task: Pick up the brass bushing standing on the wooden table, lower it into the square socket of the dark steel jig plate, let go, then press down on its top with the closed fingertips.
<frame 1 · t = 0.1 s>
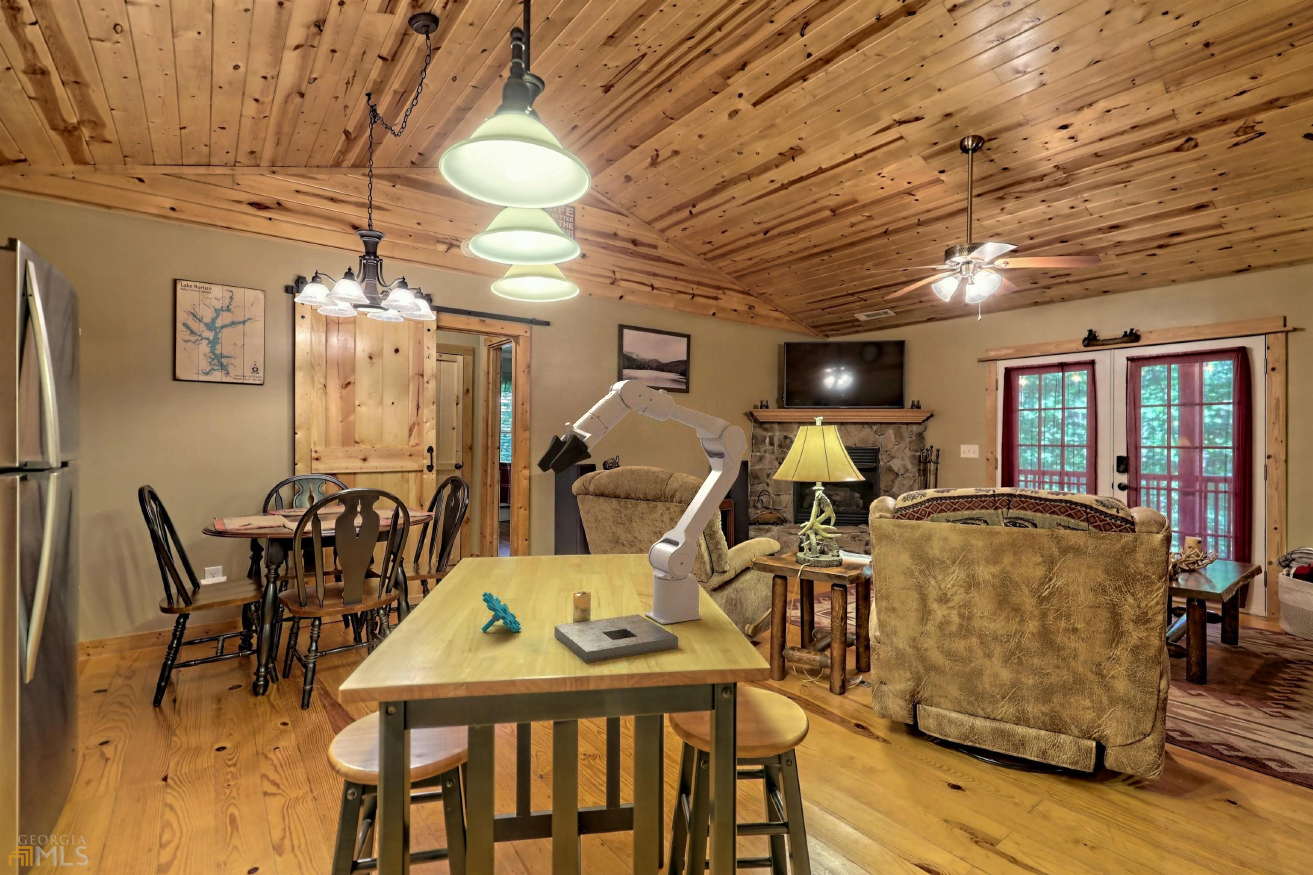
hand: (546, 469, 121), 32 cm above the table, tool tilted 50°, fingers open, 7 cm apart
jig plate: (614, 641, 118), on the table
gear: (501, 631, 124), on the table
bushing: (581, 622, 130), on the table
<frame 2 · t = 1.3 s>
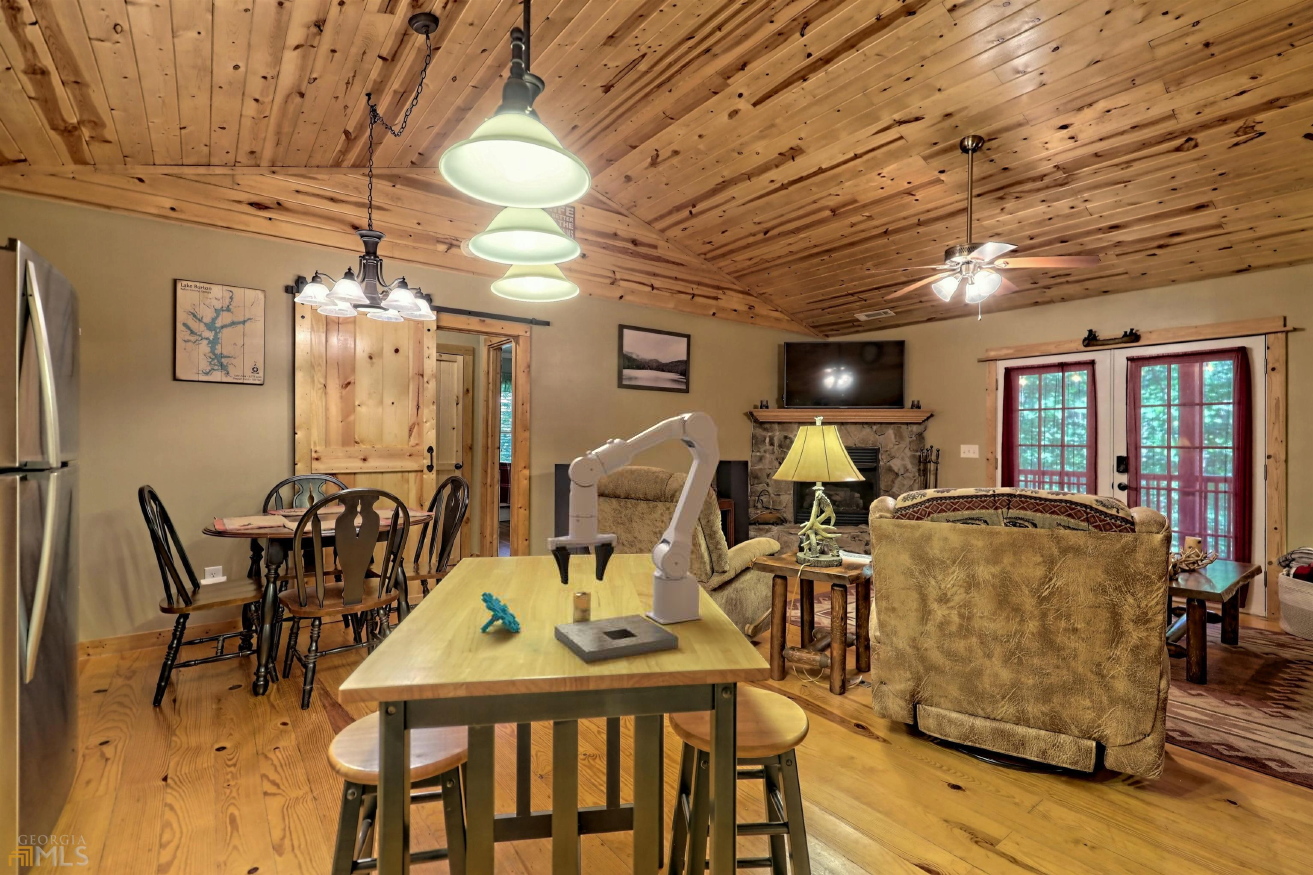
hand: (582, 581, 130), 8 cm above the table, tool pointing down, fingers open, 7 cm apart
nothing on the table moved.
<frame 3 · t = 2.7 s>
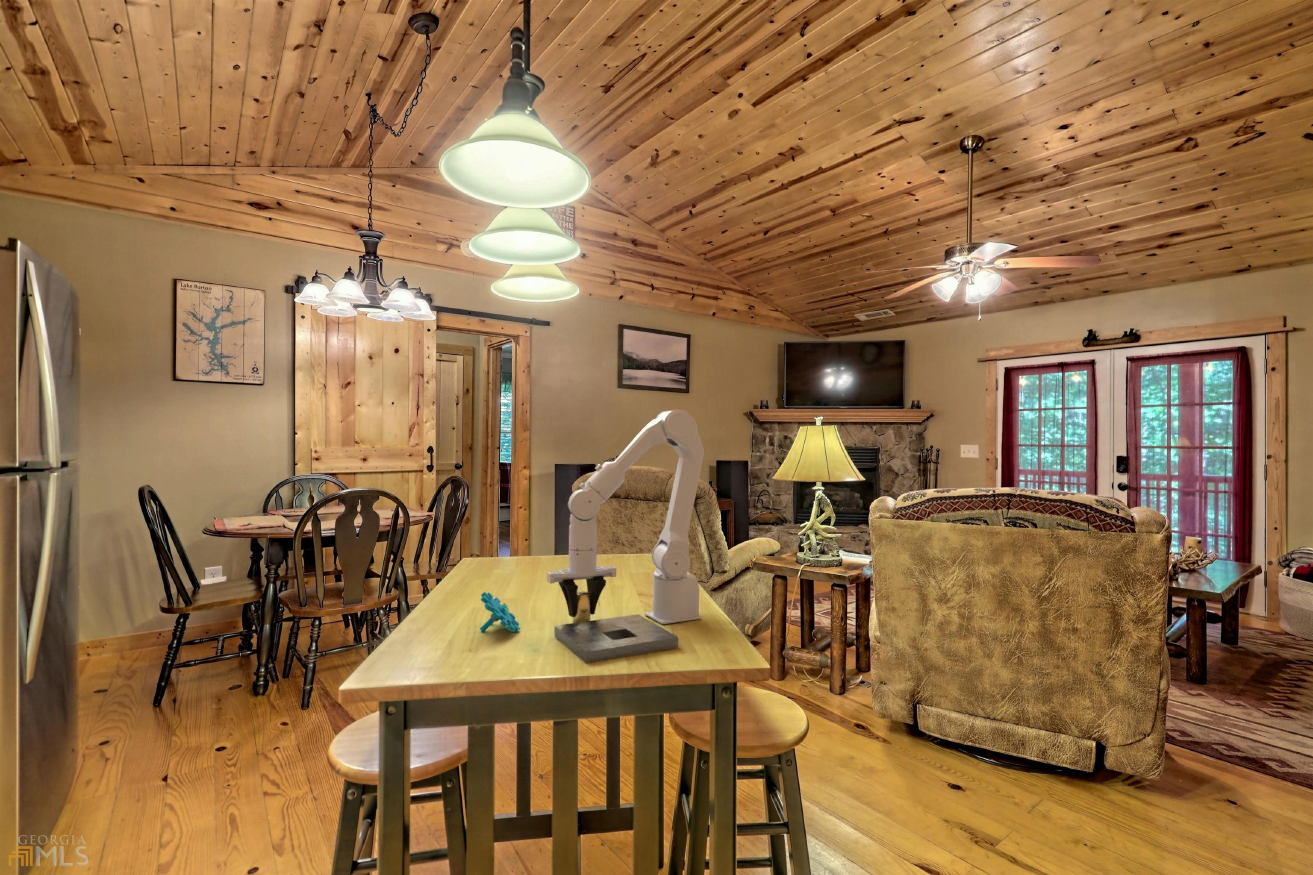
hand: (581, 614, 130), 2 cm above the table, tool pointing down, fingers closed on bushing, 4 cm apart
bushing: (581, 622, 130), on the table, touching gripper
everything else where it was.
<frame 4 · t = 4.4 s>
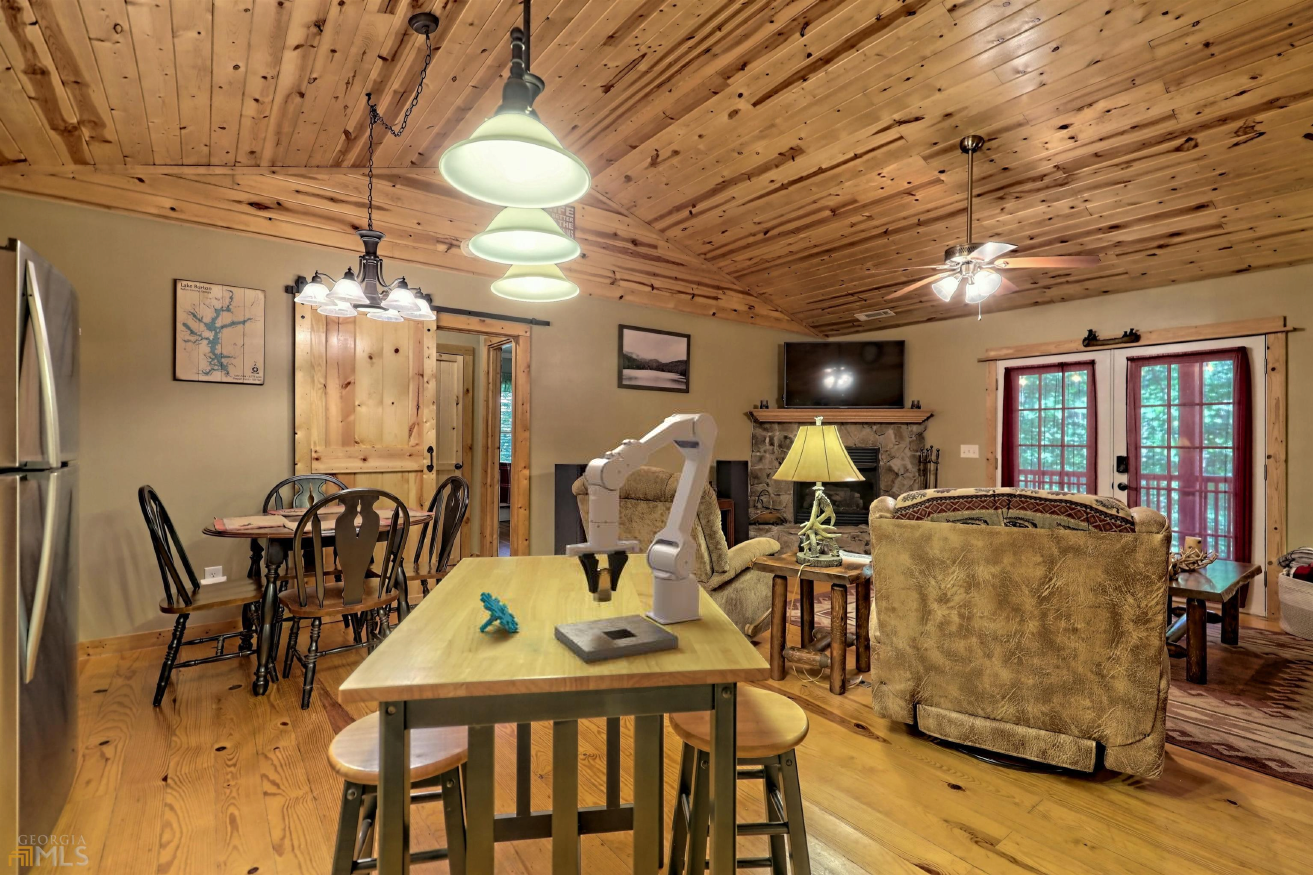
hand: (602, 591, 122), 8 cm above the table, tool pointing down, fingers closed on bushing, 4 cm apart
bushing: (602, 599, 122), point 7 cm above the table, touching gripper
everything else where it was.
when the fingers open (3 cm above the table, at t = 6.3 s): bushing stays where it is, resting in jig plate.
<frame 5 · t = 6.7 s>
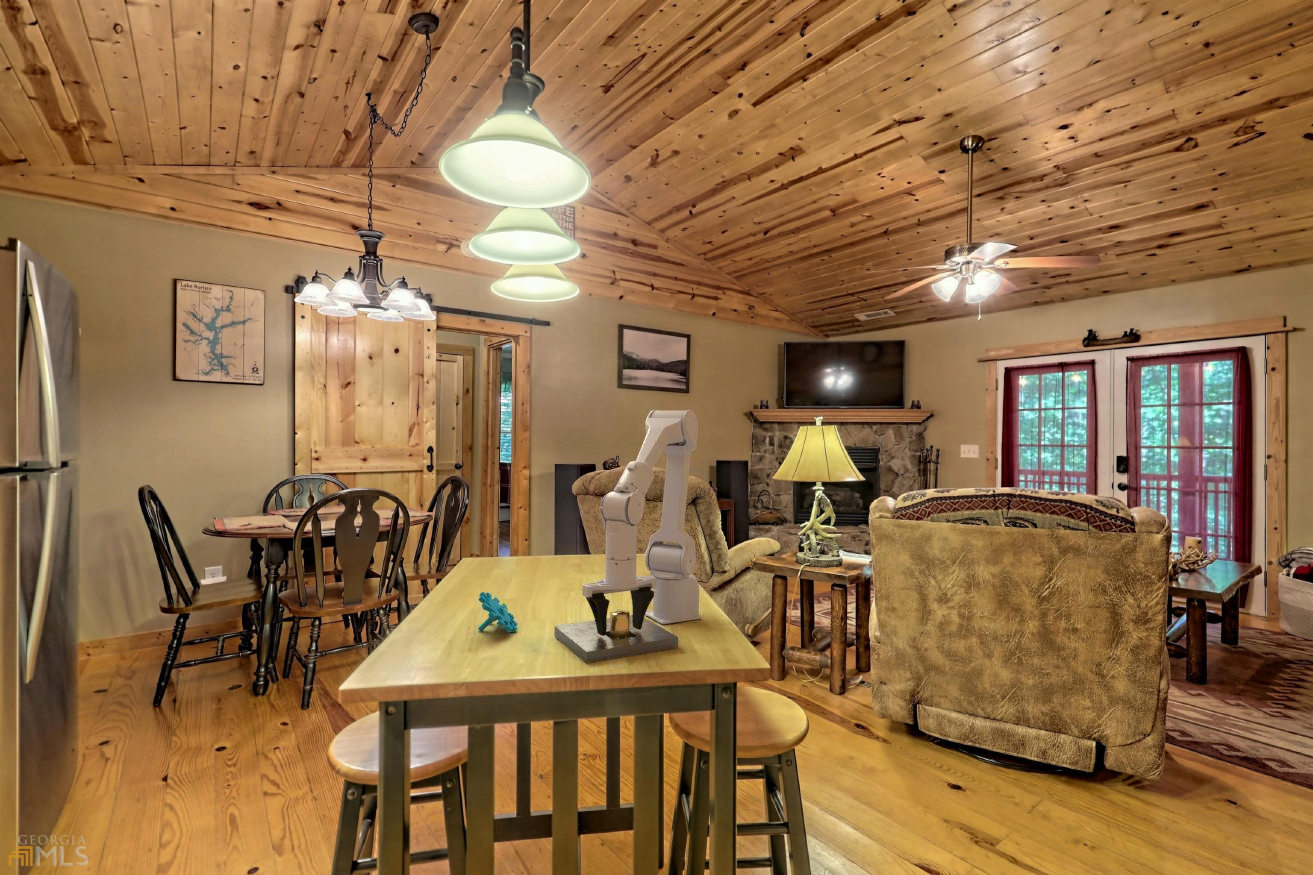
hand: (619, 630, 116), 3 cm above the table, tool pointing down, fingers open, 7 cm apart
bushing: (619, 645, 117), resting in jig plate
everything else where it was.
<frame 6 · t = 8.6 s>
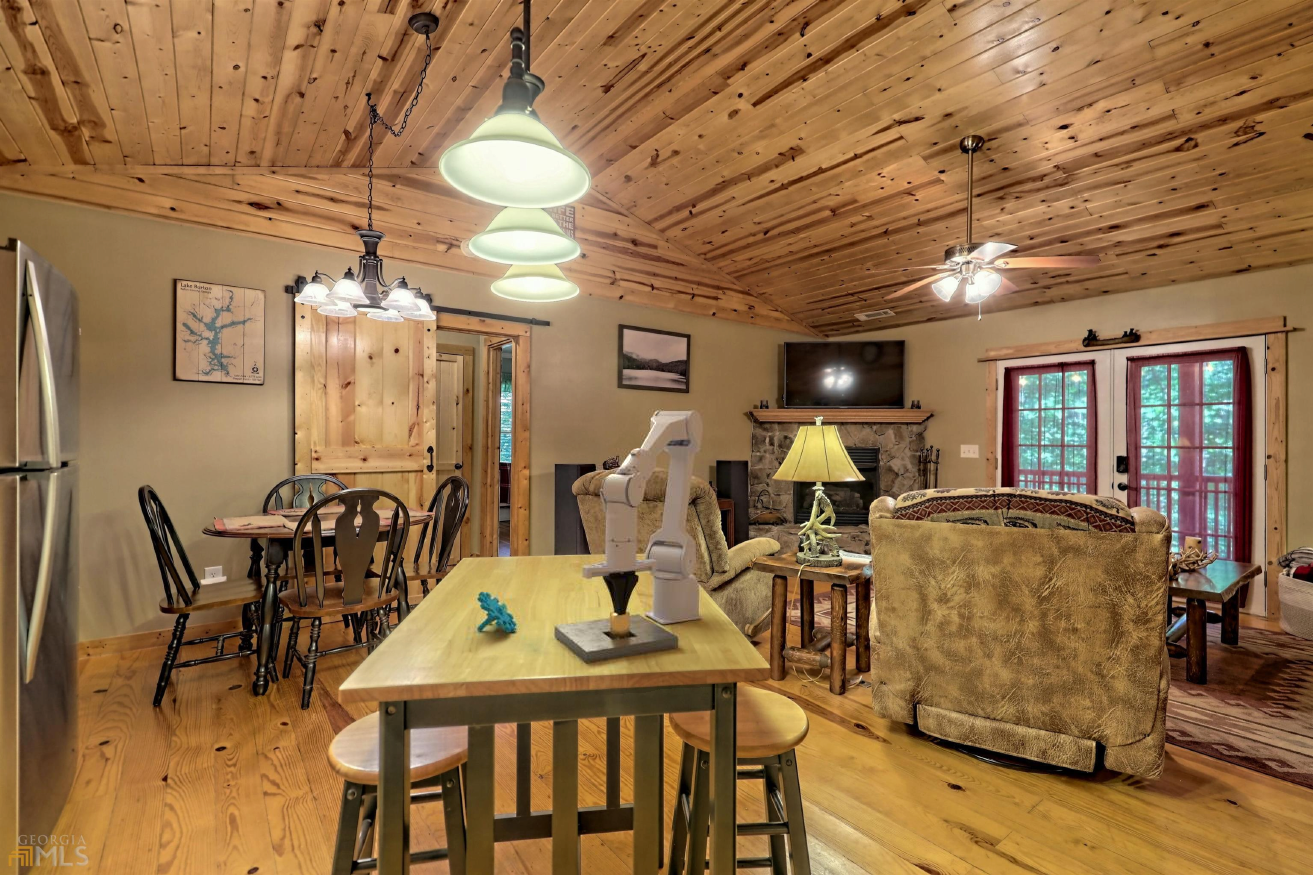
hand: (619, 613, 116), 6 cm above the table, tool pointing down, fingers closed, pressing on bushing
bushing: (619, 645, 117), resting in jig plate, touching gripper
everything else where it was.
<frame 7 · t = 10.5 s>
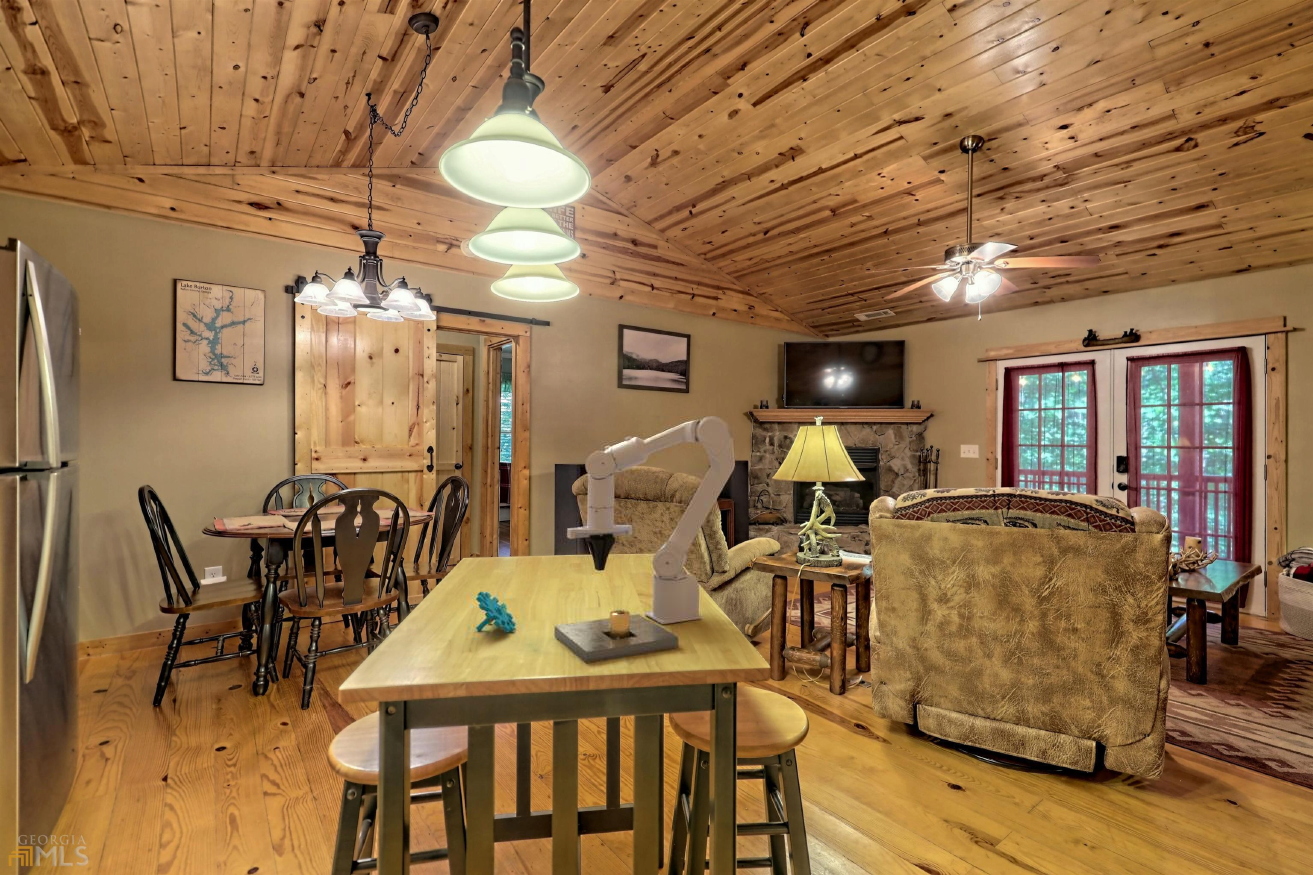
hand: (599, 569, 137), 9 cm above the table, tool pointing down, fingers closed
bushing: (619, 645, 117), resting in jig plate
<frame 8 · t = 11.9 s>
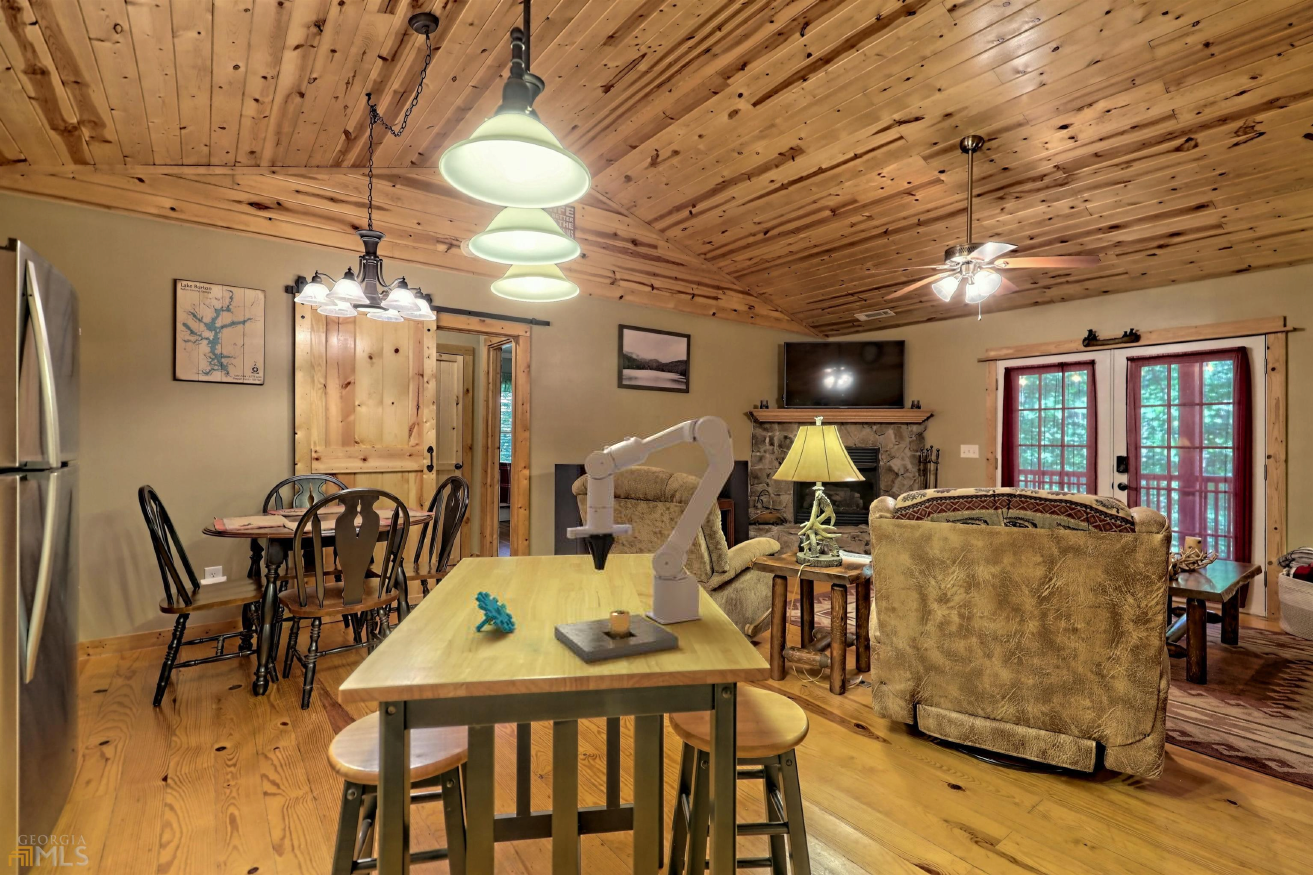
hand: (599, 569, 137), 9 cm above the table, tool pointing down, fingers closed
at the end: bushing 0.1 cm from the target spot on the jig plate, point 0.0 cm above the jig plate's base; bushing tilted 0°; the gripper is holding nothing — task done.
